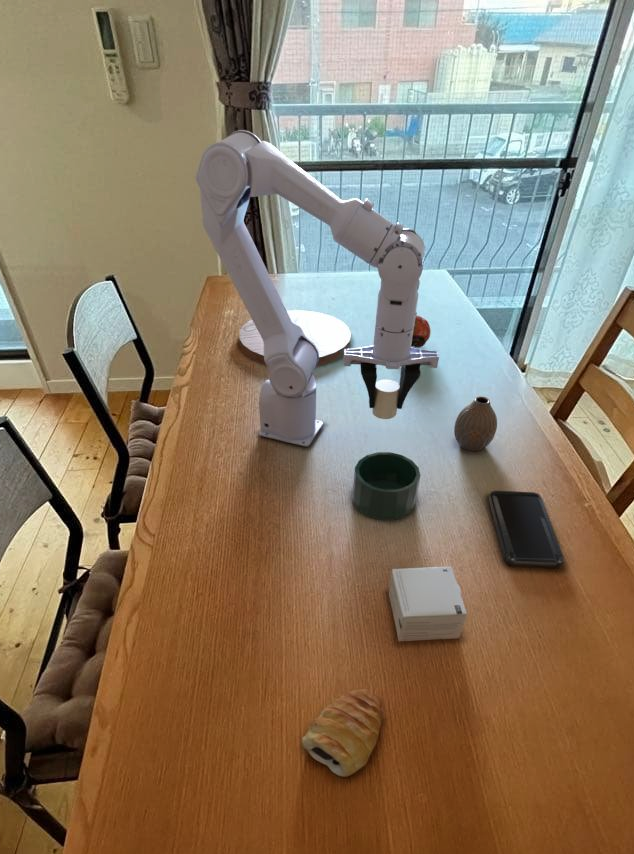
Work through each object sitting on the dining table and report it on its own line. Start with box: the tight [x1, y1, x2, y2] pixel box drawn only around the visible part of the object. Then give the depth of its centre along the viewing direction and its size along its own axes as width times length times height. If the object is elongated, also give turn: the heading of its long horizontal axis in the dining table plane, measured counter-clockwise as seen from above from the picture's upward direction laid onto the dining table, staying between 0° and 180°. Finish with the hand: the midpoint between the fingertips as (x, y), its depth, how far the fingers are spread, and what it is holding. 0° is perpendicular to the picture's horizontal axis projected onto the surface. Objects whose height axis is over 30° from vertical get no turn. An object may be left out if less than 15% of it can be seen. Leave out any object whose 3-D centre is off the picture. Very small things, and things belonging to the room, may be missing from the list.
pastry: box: [301, 688, 384, 778], centre depth 58 cm, size 9×7×4 cm
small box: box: [388, 566, 468, 642], centre depth 68 cm, size 8×8×5 cm
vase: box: [453, 396, 498, 452], centre depth 94 cm, size 7×7×9 cm
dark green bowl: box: [352, 451, 421, 521], centre depth 84 cm, size 10×10×6 cm
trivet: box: [238, 309, 352, 367], centre depth 124 cm, size 25×25×2 cm
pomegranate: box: [411, 311, 431, 348], centre depth 121 cm, size 7×7×10 cm
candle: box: [372, 379, 400, 420], centre depth 91 cm, size 4×4×5 cm
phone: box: [488, 490, 565, 569], centre depth 81 cm, size 8×1×15 cm
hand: (384, 405), depth 92 cm, fingers closed on candle, 4 cm apart
